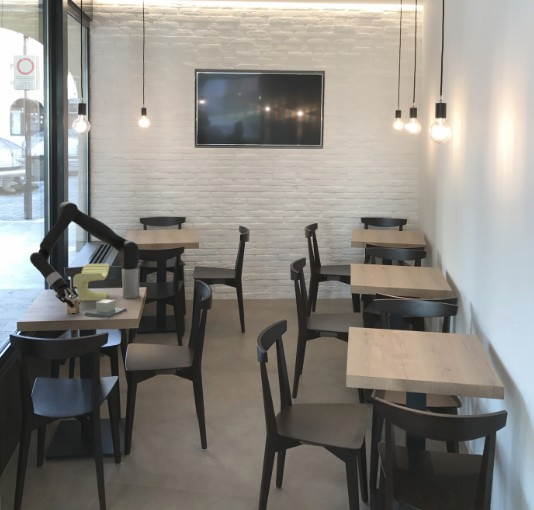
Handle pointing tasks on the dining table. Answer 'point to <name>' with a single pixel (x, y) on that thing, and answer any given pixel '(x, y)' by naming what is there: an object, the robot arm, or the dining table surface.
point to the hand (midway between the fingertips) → (75, 305)
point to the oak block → (75, 307)
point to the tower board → (103, 314)
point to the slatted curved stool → (87, 275)
